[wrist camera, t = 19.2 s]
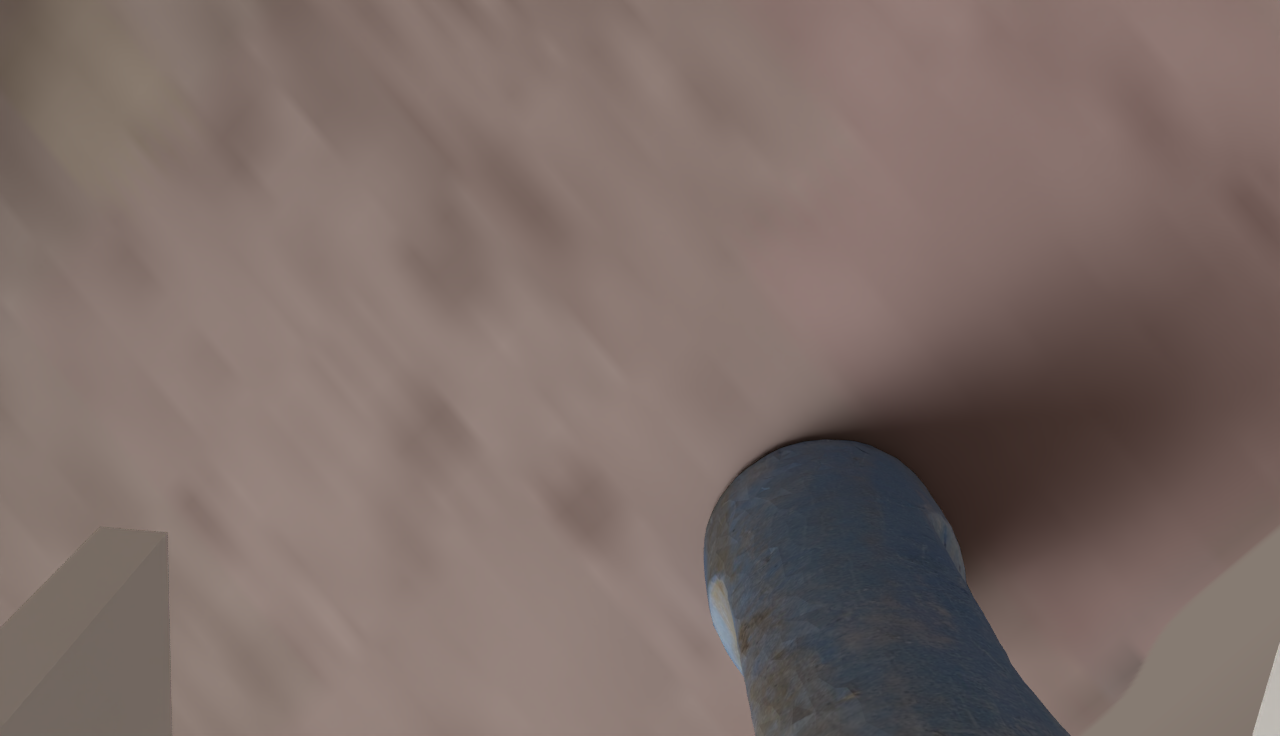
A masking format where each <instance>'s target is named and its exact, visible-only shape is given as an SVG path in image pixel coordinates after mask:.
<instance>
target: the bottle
mask: <svg viewBox="0 0 1280 736" xmlns="http://www.w3.org/2000/svg"><path fill="white" fill-rule="evenodd" d="M704 571H705V581H706V588H707V595H708V602H709V608H710V612H711V616H712V621H713V625H714V627H715V629H716V631H717V633H718V635H719V637H720V639H721V641H722V643H723V645H724V647H725V650H726V651H727V653H728V655H729V656H730V658H731V659H732V661H733V662H734V664H735V665H736V667H737V668H738V669H739V671H740V672H741V674H742V675H743V676H744V680H745V684H746V690H747V696H748V701H749V705H750V710H751V716H752V722H753V726H754V731H755V736H1070V734H1069V733H1068V732H1067V731H1066V730H1065V729H1064V728H1063V727H1062V726H1061V725H1060V724H1059V723H1058V721H1057V720H1056V719H1055V718H1054V717H1053V716H1052V715H1051V713H1050V712H1049V711H1048V710H1047V709H1046V707H1045V706H1044V705H1043V704H1042V702H1041V701H1040V700H1039V699H1038V697H1037V696H1036V695H1035V694H1034V693H1033V691H1032V690H1031V689H1030V688H1029V687H1028V686H1027V685H1026V684H1025V682H1024V681H1023V680H1022V678H1021V677H1020V675H1019V674H1018V673H1017V671H1016V670H1015V669H1014V667H1013V666H1012V665H1011V663H1010V661H1009V658H1008V656H1007V654H1006V652H1005V650H1004V649H1003V647H1002V646H1001V644H1000V643H999V641H998V639H997V637H996V635H995V633H994V632H993V630H992V628H991V626H990V624H989V622H988V621H987V619H986V617H985V615H984V614H983V612H982V610H981V608H980V607H979V605H978V604H977V602H976V601H975V599H974V597H973V595H972V593H971V591H970V589H969V587H968V585H967V584H966V574H965V567H964V563H963V558H962V554H961V550H960V546H959V544H958V541H957V539H956V537H955V534H954V532H953V530H952V527H951V525H950V524H949V522H948V521H947V519H946V517H945V516H944V514H943V512H942V511H941V509H940V508H939V506H938V505H937V503H936V502H935V501H934V499H933V498H932V496H931V495H930V493H929V491H928V490H927V488H926V487H925V485H924V484H923V483H922V482H921V480H920V479H919V478H918V477H917V476H916V474H915V473H914V472H912V471H911V470H910V469H909V468H908V467H907V466H905V465H904V464H903V463H902V462H901V461H900V460H898V459H897V458H895V457H893V456H891V455H889V454H887V453H885V452H883V451H881V450H879V449H877V448H875V447H873V446H871V445H867V444H863V443H860V442H855V441H848V440H826V439H824V440H815V441H805V442H801V443H797V444H793V445H789V446H786V447H783V448H780V449H778V450H776V451H774V452H772V453H770V454H768V455H766V456H765V457H763V458H762V459H760V460H759V461H757V462H756V463H754V464H753V465H751V466H750V467H748V468H747V469H746V470H745V471H743V472H742V473H741V474H740V475H738V476H737V477H736V478H735V479H734V481H733V482H732V483H731V485H730V486H729V487H728V488H727V490H726V491H725V492H724V493H723V495H722V496H721V497H720V499H719V501H718V503H717V504H716V506H715V508H714V510H713V512H712V514H711V517H710V520H709V522H708V525H707V528H706V534H705V541H704Z"/></svg>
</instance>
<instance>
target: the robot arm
mask: <svg viewBox="0 0 1280 736" xmlns="http://www.w3.org/2000/svg"><path fill="white" fill-rule="evenodd" d="M0 736H172V705H171V661H170V618H169V574H168V532H156V531H145V530H133V529H121V528H110V527H99V528H98V529H97V530H96V531H95V532H94V533H93V534H92V535H91V536H90V537H89V538H88V539H87V540H86V541H85V542H84V543H83V544H82V545H81V546H80V547H79V548H78V549H77V551H76V552H75V553H74V554H73V555H72V556H71V557H70V558H69V559H68V560H67V561H66V562H65V563H64V564H63V565H62V566H61V567H60V568H59V569H58V570H57V571H56V572H55V573H54V574H53V575H52V576H51V577H50V578H49V579H48V580H47V581H46V582H45V583H44V584H43V585H42V586H41V587H40V588H39V589H38V590H37V591H36V592H35V593H34V594H33V595H32V596H31V597H30V598H29V599H28V600H27V601H26V602H25V603H24V604H23V605H22V606H21V607H20V608H19V609H18V610H17V611H16V612H15V613H14V614H13V615H12V616H11V617H10V618H9V619H8V621H7V622H6V623H5V624H4V625H3V626H2V627H1V628H0ZM1252 736H1280V643H1279V647H1278V650H1277V654H1276V657H1275V660H1274V664H1273V667H1272V671H1271V674H1270V677H1269V681H1268V684H1267V687H1266V691H1265V694H1264V697H1263V701H1262V704H1261V708H1260V711H1259V714H1258V718H1257V721H1256V725H1255V728H1254V731H1253V735H1252Z"/></svg>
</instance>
